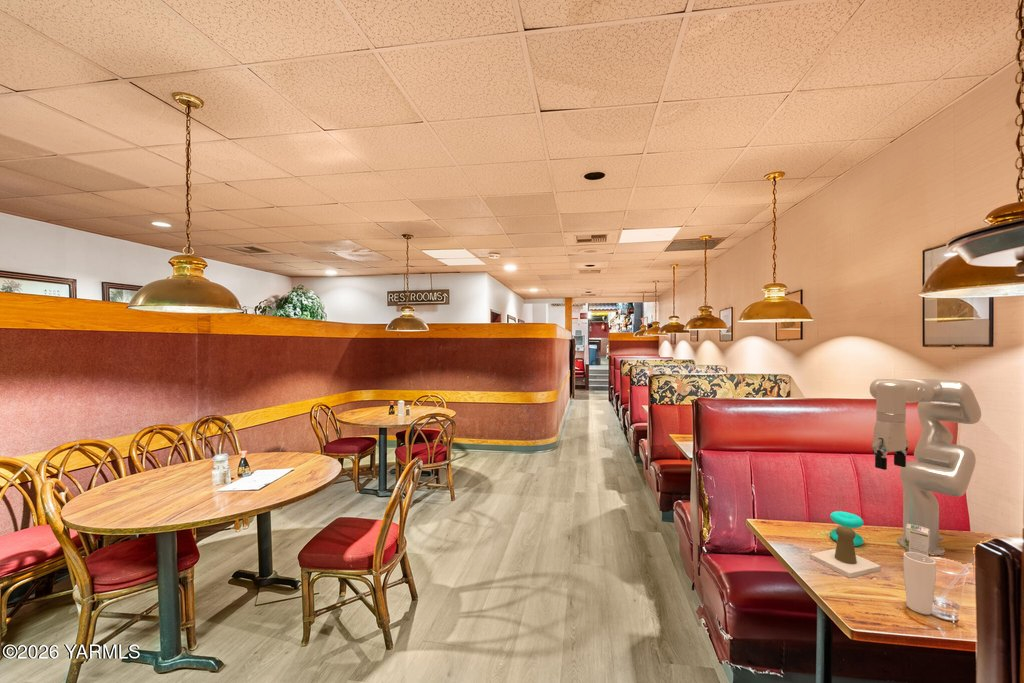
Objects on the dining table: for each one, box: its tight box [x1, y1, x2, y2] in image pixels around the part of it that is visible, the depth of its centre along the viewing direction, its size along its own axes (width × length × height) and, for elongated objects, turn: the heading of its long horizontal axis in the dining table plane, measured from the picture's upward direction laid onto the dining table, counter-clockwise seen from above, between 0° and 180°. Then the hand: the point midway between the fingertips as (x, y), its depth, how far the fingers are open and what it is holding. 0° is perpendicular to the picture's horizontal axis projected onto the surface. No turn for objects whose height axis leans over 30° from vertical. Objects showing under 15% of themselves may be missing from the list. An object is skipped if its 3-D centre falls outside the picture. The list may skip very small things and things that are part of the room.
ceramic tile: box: [809, 548, 882, 579], centre depth 144 cm, size 15×13×2 cm
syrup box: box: [904, 524, 930, 557], centre depth 140 cm, size 6×6×14 cm
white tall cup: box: [902, 551, 937, 616], centre depth 120 cm, size 7×7×15 cm
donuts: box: [829, 510, 865, 547], centre depth 161 cm, size 10×10×10 cm
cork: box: [835, 525, 857, 564], centre depth 144 cm, size 6×6×11 cm
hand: (890, 467), depth 145 cm, fingers open, 9 cm apart
